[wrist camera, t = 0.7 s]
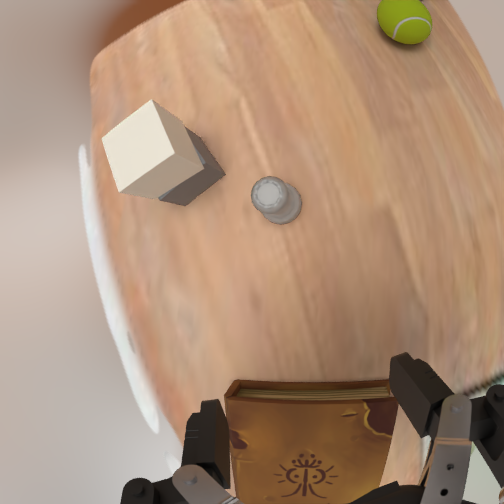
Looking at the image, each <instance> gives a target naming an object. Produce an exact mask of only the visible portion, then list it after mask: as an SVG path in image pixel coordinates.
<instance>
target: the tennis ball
mask: <svg viewBox="0 0 504 504" xmlns="http://www.w3.org/2000/svg"><path fill="white" fill-rule="evenodd" d="M377 19H378V22H379V25H380V26H381V28H382V30H383V31H384V32H385V33H386V34H387V35H388V36H389V37H390V38H392V39H393V40H395V41H397V42H400V43H404V44H417V43H420V42H422V41H424V40H425V39H426V38H427V37H428V36H429V35H430V33H431V30H432V19H431V16H430V13H429V11H428V10H427V8H426V7H425V6H424V5H423V4H422V3H421V2H420V1H419V0H382V1H381V2H380V4H379V6H378V9H377Z"/></svg>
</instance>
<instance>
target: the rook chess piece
mask: <svg viewBox="0 0 504 504" xmlns="http://www.w3.org/2000/svg"><path fill="white" fill-rule="evenodd" d="M251 199H252V203H253V205H254V206H255V208H256V209H257V210H259V211H260V212H262V214H263V215H264V217H265V218H266V219H268V220H269V221H271V222H272V223H276V224H285V223H289V222H291V221H292V220H294V219H295V218H296V217H297V215H298V214H299V212H300V210H301V205H302V202H301V197H300V194H299V193H298V191H297V190H296V188H294V187H293V186H291V185H289V184H288V183H284V182H283V181H282V180H280V179H279V178H277V177H272V176H268V177H264V178H261V179H260V180H259V181H257V182H256V183H255V185H254V186H253V188H252V192H251Z"/></svg>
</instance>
